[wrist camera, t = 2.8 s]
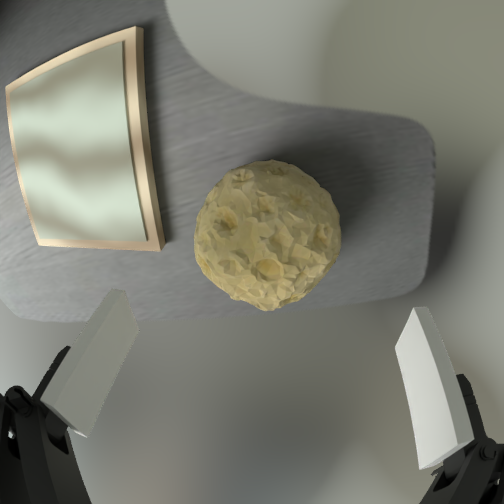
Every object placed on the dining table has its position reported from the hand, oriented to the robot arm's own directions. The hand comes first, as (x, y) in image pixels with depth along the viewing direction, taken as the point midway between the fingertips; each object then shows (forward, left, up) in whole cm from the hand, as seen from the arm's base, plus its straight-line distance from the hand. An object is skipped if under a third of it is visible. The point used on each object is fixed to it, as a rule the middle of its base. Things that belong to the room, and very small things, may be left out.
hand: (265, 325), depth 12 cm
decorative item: (0, 0, -11) cm, 11 cm away
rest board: (-6, -17, -11) cm, 21 cm away
